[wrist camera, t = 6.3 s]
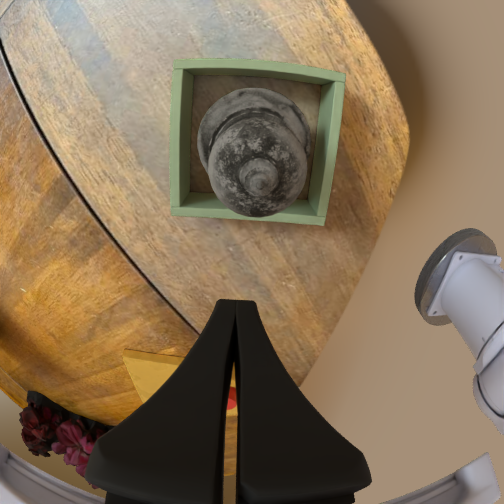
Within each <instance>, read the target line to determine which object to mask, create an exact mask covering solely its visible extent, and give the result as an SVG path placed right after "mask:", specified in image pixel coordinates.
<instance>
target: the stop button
mask: <svg viewBox="0 0 504 504" xmlns="http://www.w3.org/2000/svg"><path fill="white" fill-rule="evenodd" d="M236 405H237V400H236V388H235V387H232V386H230V392H229V399H228V405H227V410H230V409H233V408H235V407H236Z"/></svg>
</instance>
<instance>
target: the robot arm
mask: <svg viewBox="0 0 504 504" xmlns="http://www.w3.org/2000/svg"><path fill="white" fill-rule="evenodd" d="M501 259H502V258H501V257H500V256H496V255H487V254H478V253H469V252H460V251H457V252H455V253H454V254H453V257H452V259H451V262H450V264H449V266H448V269H447V271H446V273H445V276H444V278H443V280H442V282H441V285H440V287H439V289H438V291H437V293H436V295H435V297H434V299H433V301H432V303H431V305H430V307H429V309H428V311H427V314H428V316H439V315H447V316H448V317H449V318H450V320H451V321H452V323H453V324H454V326H455V327H456V329H457V330H458V332H459V333H460V334H461V336H462V338H463V339H464V341H465V343H466V344H467V346H468V347H469V349H470V350H471V352H472V354H473V356H474V357H475V359H476V361H477V362H476V363H475V364H474V366H473V368H474V370H475V371H476V375H475V376H474V379H473V393H474V397H475V400H476V402H477V404H478V406H479V408H480V410H481V411H482V412H483V413H484V414H485V415H486V416H487V417H488V418H490V420H491V421H492V422H493V423H494V425H495V426H496V428H497V430H498V431H499V432H500V434H502V435H504V270H503V269H502V268H501V267H500V266H499V265H500V263H501ZM233 365H234V369H235V385H236V400H237V418H238V424H237V464H236V504H352V503H354V502H355V498H354V493H355V492H357V491H359V490H361V489H363V488H365V487H367V486H369V485H370V483H371V482H372V479H371V474H370V470H369V467H368V464H367V462H366V459H365V457H364V455H363V453H362V452H361V451H360V450H359V449H357V448H356V447H355V446H353V445H352V444H351V443H350V442H349V441H348V440H346V439H345V438H344V437H343V436H342V435H341V434H340V433H338V432H337V431H336V430H335V429H334V428H333V427H332V426H331V425H330V424H329V423H328V422H327V421H326V420H325V419H324V418H323V417H322V415H321V414H320V413H319V412H318V411H317V410H316V409H315V408H314V407H313V405H311V403H310V402H309V401H308V400H307V399H306V398H305V396H304V395H303V394H302V392H301V391H300V389H299V388H298V387H297V385H296V384H295V383H294V381H293V380H292V378H291V377H290V375H289V374H288V372H287V371H286V369H285V367H284V366H283V364H282V362H281V361H280V359H279V357H278V355H277V354H276V352H275V350H274V348H273V346H272V344H271V342H270V340H269V338H268V336H267V333H266V331H265V329H264V326H263V324H262V321H261V319H260V316H259V313H258V309H257V305H256V303H255V302H254V301H249V300H229V299H219V300H218V301H217V302H216V305H215V308H214V310H213V312H212V314H211V316H210V318H209V320H208V322H207V324H206V326H205V328H204V329H203V331H202V333H201V334H200V336H199V338H198V339H197V341H196V342H195V344H194V345H193V347H192V348H191V350H190V351H189V353H188V354H187V355H186V357H185V358H184V360H183V361H182V362H181V364H180V365H179V366H178V367H177V369H176V370H175V371H174V372H173V373H172V375H171V376H170V377H169V378H168V379H167V380H166V381H165V383H164V384H163V385H162V386H161V387H160V388H159V389H158V390H157V391H156V392H155V393H154V394H153V395H152V396H151V397H150V398H149V399H148V400H147V401H146V402H145V403H144V404H142V405H141V406H140V407H139V408H138V409H137V410H135V411H134V412H133V413H132V414H131V415H130V416H128V417H127V418H126V419H125V420H123V421H122V422H121V423H119V424H118V425H117V426H115V427H114V428H112V429H111V430H109V431H108V432H107V433H105V434H104V435H102V436H101V437H99V438H98V439H97V441H96V443H95V445H94V447H93V449H92V452H91V454H90V456H89V460H88V464H87V468H86V472H85V476H84V477H85V479H86V481H88V482H89V483H91V484H93V485H95V486H97V487H99V488H101V489H103V490H105V491H107V494H106V499H104V498H102V497H99V496H96V495H94V494H91V493H88V492H85V491H83V490H81V489H79V488H76V487H74V486H72V485H70V484H67V483H65V482H63V481H61V480H59V479H57V478H55V477H53V476H51V475H49V474H47V473H45V472H44V471H42V470H40V469H38V468H37V467H34V466H33V465H31V464H29V463H28V462H26V461H25V460H23V459H21V458H20V457H18V456H17V455H15V454H14V453H12V452H11V451H9V449H7V448H6V447H5V446H3V445H2V444H1V443H0V504H223V481H224V480H223V479H224V449H225V425H226V413H227V405H228V399H229V392H230V385H231V379H232V372H233ZM500 497H501V493H500V489H499V485H498V482H497V478H496V475H495V471H494V468H493V465H492V462H491V459H490V456H489V453H488V452H486V453H484V454H483V455H482V456H480V457H478V458H477V459H475V460H473V461H472V462H470V463H468V464H467V465H465V466H463V467H462V468H460V469H458V470H457V471H456V472H454V473H452V474H450V475H448V476H446V477H444V478H442V479H440V480H438V481H436V482H434V483H432V484H430V485H428V486H425V487H423V488H421V489H419V490H416V491H414V492H411V493H409V494H406V495H404V496H401V497H398V498H395V499H392V500H389V501H386V502H383V503H380V504H493V503H494V502H495V501H497V500H498V499H499V498H500Z"/></svg>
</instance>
